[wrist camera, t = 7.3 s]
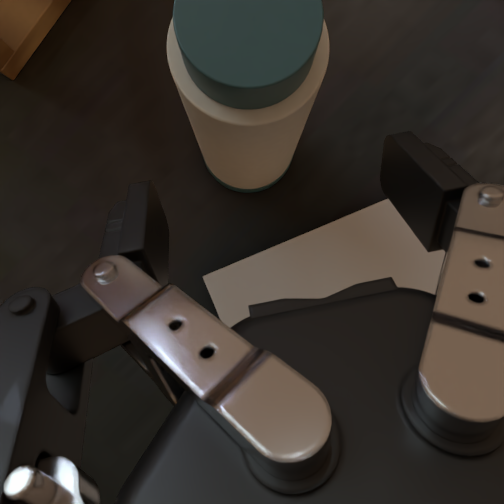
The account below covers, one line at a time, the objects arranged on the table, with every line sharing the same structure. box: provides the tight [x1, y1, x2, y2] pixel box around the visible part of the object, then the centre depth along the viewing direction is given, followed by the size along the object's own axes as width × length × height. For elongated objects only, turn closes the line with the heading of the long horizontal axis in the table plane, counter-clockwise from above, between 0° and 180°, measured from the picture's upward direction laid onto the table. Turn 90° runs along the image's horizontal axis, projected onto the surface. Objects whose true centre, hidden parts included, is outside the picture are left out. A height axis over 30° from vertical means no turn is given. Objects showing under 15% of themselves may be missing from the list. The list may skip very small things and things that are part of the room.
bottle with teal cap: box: [167, 0, 329, 193], centre depth 17 cm, size 6×6×12 cm
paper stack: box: [203, 199, 446, 328], centre depth 22 cm, size 23×25×1 cm
